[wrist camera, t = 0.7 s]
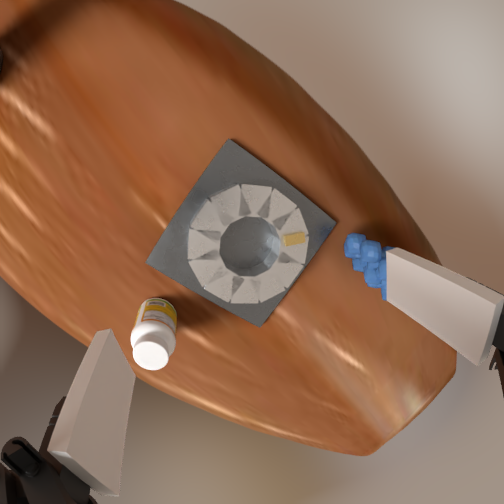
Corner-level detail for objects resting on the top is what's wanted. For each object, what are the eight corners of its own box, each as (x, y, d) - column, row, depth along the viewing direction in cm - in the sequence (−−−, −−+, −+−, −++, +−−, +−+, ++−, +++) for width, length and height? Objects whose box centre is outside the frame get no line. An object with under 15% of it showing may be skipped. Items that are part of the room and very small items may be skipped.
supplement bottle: (156, 337, 36) (150, 382, 27) (131, 310, 35) (116, 351, 25) (184, 317, 36) (185, 361, 27) (159, 289, 35) (151, 327, 26)
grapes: (388, 264, 42) (438, 291, 30) (360, 292, 42) (406, 327, 30) (356, 209, 38) (413, 225, 26) (324, 240, 38) (374, 267, 26)
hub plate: (146, 260, 33) (140, 272, 29) (227, 139, 31) (233, 134, 27) (258, 324, 39) (266, 341, 35) (333, 221, 37) (350, 228, 33)
